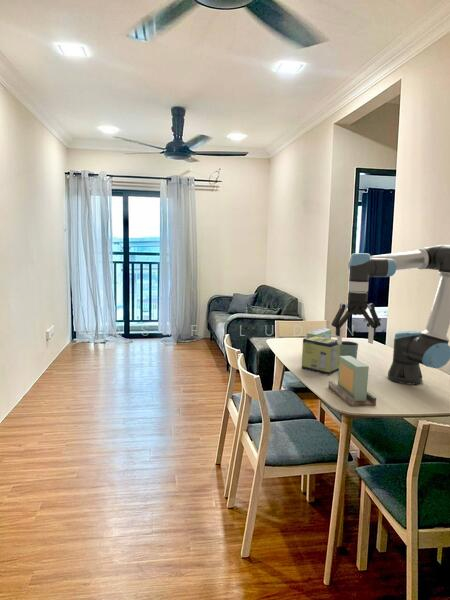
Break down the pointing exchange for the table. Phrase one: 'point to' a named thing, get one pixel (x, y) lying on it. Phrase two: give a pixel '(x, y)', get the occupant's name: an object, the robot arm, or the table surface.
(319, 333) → the snack box
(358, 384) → the cracker box
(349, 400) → the facing shelf
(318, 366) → the protein box
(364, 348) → the table surface
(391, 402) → the table surface
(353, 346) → the green cup
